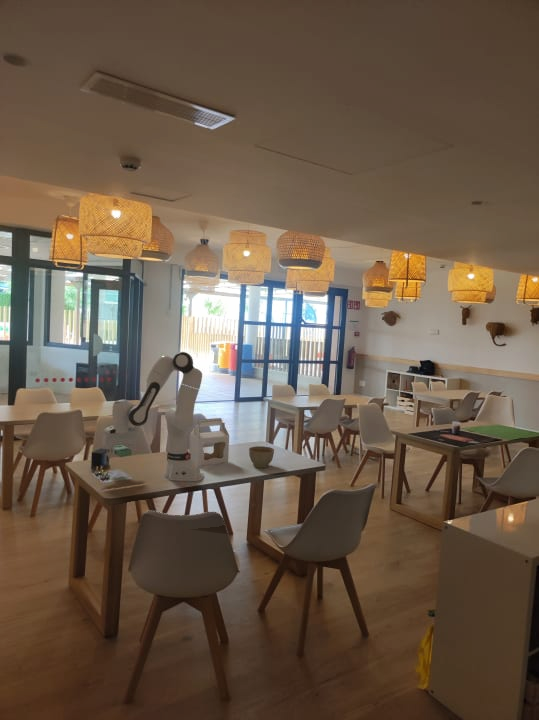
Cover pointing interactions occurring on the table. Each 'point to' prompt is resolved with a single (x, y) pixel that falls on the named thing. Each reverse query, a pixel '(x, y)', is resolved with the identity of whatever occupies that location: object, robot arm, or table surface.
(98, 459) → the small box
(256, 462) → the planter bowl
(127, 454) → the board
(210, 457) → the gable box
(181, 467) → the robot arm
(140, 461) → the table surface
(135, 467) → the table surface
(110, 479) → the chassis
